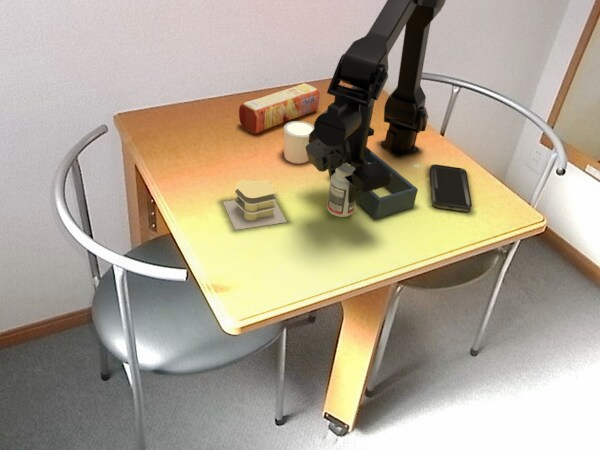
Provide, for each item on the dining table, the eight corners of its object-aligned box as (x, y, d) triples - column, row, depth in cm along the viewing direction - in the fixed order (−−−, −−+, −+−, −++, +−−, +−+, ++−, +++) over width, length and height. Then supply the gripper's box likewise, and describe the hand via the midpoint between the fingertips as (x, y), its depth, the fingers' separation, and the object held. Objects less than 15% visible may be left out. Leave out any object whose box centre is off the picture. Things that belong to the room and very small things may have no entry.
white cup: (309, 167, 132) (312, 139, 128) (278, 161, 133) (280, 133, 128) (315, 151, 137) (318, 123, 133) (285, 146, 138) (287, 118, 134)
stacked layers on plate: (272, 195, 122) (273, 172, 119) (286, 222, 116) (288, 198, 113) (222, 201, 119) (223, 178, 116) (235, 230, 113) (235, 205, 109)
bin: (367, 168, 134) (371, 150, 131) (413, 207, 124) (418, 189, 121) (331, 178, 129) (333, 160, 127) (375, 219, 119) (379, 200, 116)
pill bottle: (347, 199, 122) (354, 157, 116) (358, 215, 118) (366, 173, 112) (322, 203, 121) (328, 160, 115) (332, 219, 117) (339, 176, 111)
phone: (466, 168, 135) (472, 208, 123) (464, 173, 136) (470, 212, 124) (430, 163, 135) (432, 202, 123) (428, 167, 136) (431, 206, 124)
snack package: (302, 102, 156) (304, 77, 152) (320, 113, 152) (323, 87, 148) (236, 126, 143) (237, 99, 139) (255, 138, 140) (256, 111, 135)
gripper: (287, 106, 110) (281, 178, 120) (346, 157, 98) (334, 233, 108) (339, 96, 115) (329, 166, 125) (401, 143, 103) (385, 217, 113)
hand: (342, 194), depth 117 cm, fingers closed on pill bottle, 5 cm apart
